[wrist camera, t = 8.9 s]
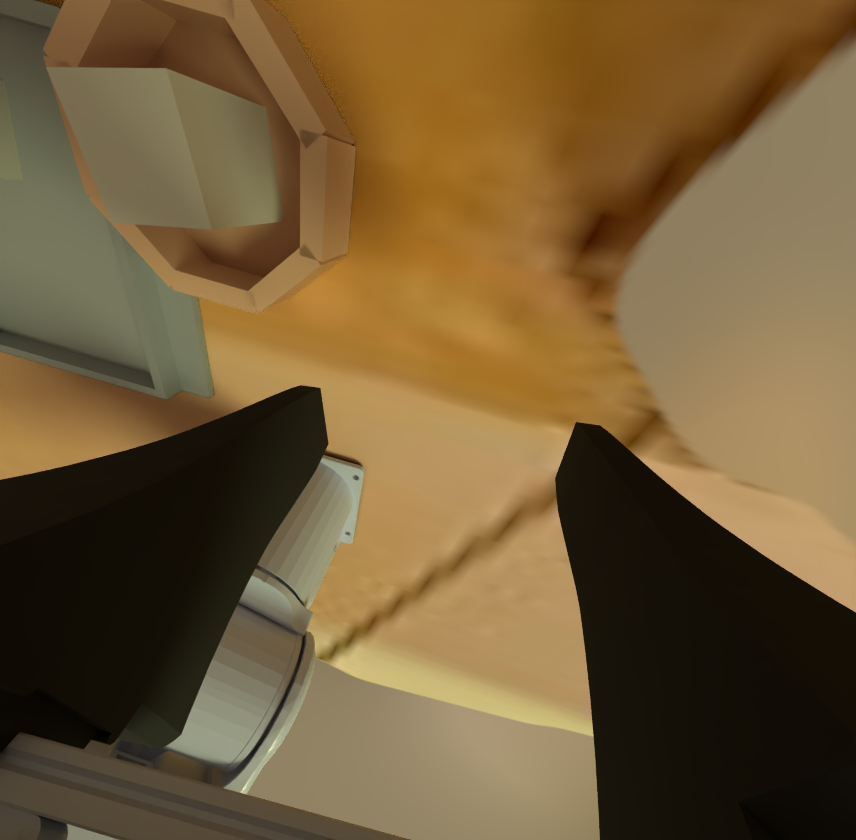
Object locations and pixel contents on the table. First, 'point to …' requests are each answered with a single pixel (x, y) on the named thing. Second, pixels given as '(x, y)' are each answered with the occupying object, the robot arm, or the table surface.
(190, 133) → the sage green cube
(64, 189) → the parts tray
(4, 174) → the beige square block
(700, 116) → the table surface
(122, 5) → the bowl
